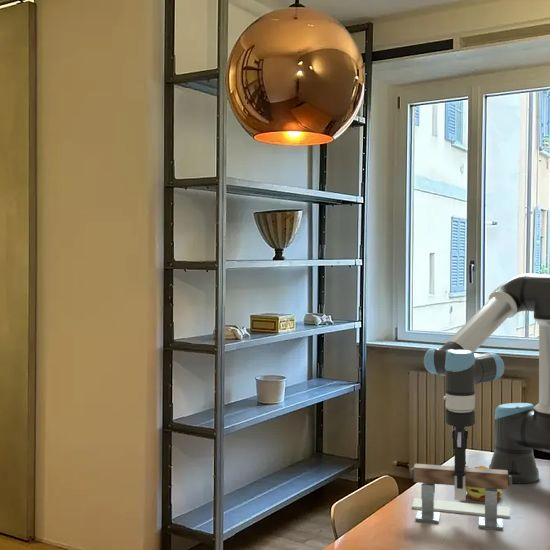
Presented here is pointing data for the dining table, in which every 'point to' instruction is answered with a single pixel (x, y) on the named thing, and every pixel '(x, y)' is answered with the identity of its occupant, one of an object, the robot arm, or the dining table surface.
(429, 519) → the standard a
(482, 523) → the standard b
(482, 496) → the cheeseburger
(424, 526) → the dining table surface
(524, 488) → the dining table surface
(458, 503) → the white plank
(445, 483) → the rail
